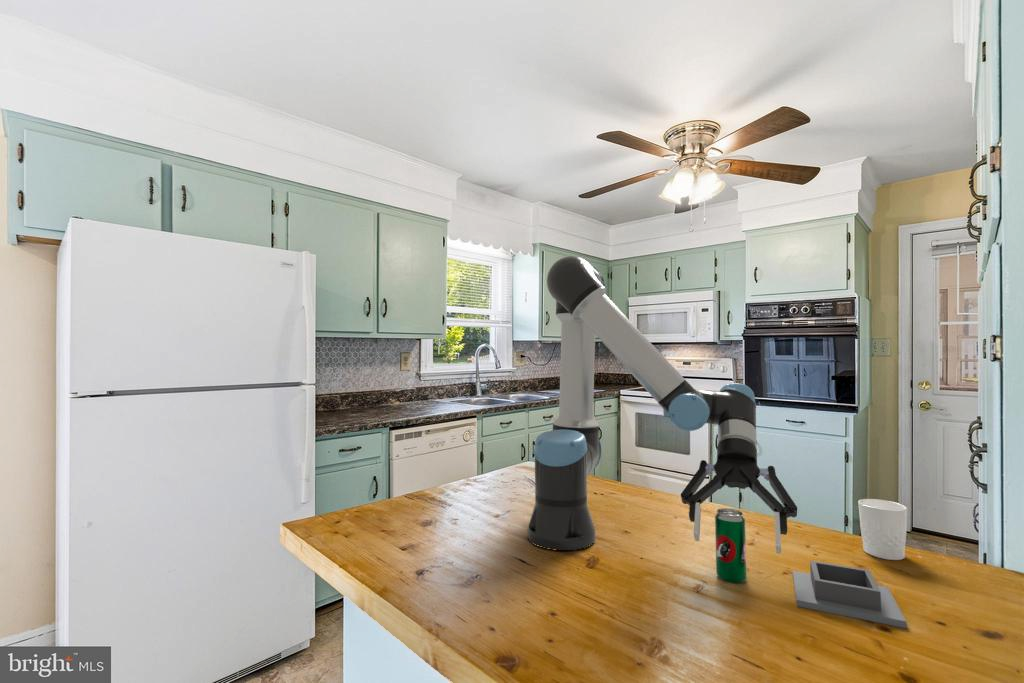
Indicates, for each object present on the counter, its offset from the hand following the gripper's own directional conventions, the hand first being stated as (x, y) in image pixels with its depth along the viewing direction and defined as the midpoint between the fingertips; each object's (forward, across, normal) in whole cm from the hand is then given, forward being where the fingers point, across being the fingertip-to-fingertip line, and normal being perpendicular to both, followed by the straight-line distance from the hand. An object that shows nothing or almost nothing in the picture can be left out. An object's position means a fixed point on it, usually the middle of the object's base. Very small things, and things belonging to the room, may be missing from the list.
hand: (736, 543), depth 87 cm
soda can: (+5, +1, -5) cm, 7 cm away
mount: (+5, -16, -4) cm, 17 cm away
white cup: (-13, -26, -23) cm, 37 cm away
